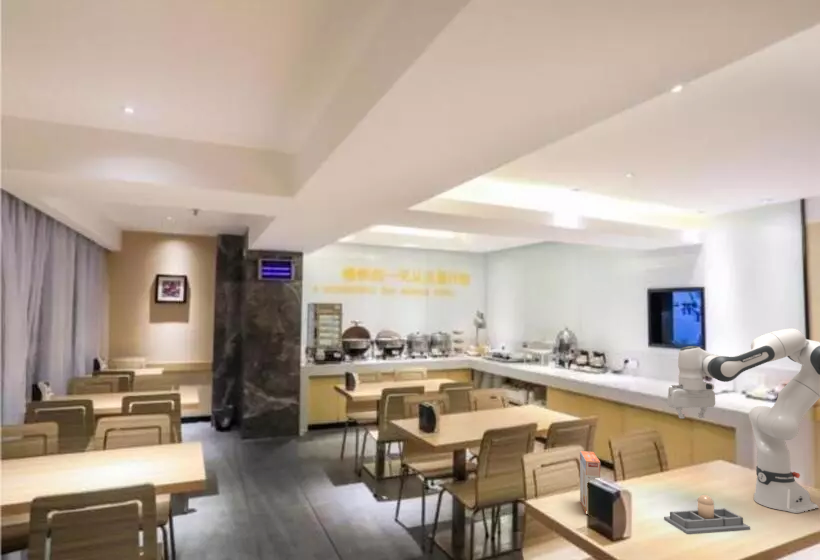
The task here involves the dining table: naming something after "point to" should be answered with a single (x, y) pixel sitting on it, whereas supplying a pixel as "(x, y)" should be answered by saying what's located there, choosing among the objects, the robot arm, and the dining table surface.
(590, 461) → the cracker box
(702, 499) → the tan domed cylinder
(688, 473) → the dining table surface
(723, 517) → the grey compartment tray
